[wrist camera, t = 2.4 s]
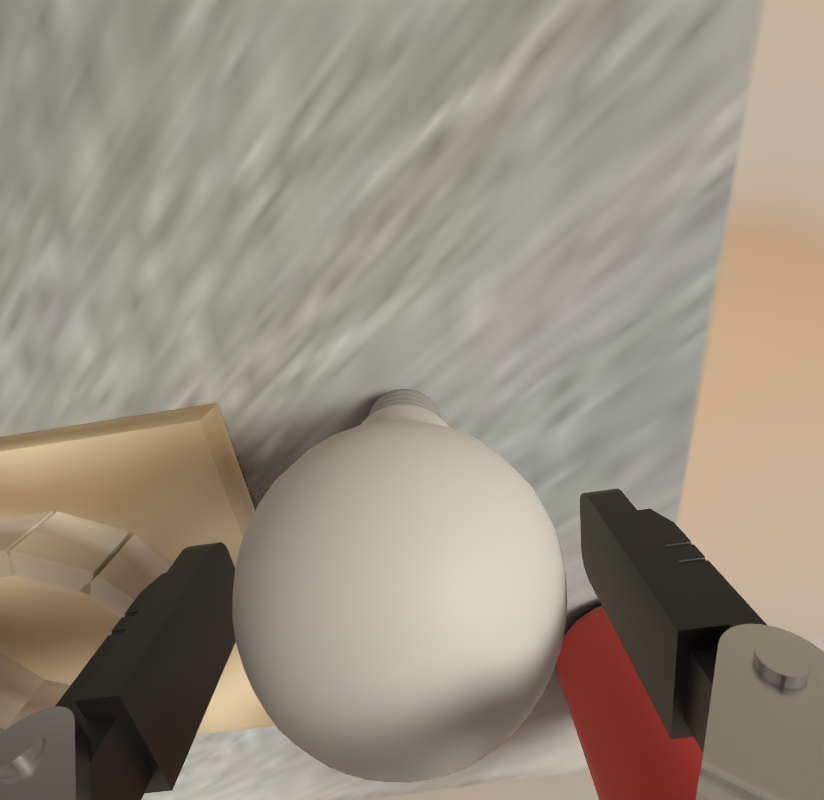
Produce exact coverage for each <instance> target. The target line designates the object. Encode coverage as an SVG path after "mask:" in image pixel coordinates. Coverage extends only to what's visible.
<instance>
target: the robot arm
mask: <svg viewBox="0 0 824 800" xmlns="http://www.w3.org/2000/svg"><path fill="white" fill-rule="evenodd" d="M580 518H581V549H582V558H583V563H584V567H585V570H586V574H587V576H588V579H589V581H590V583H591V585H592V587H593V589H594V591H595V593H596V595H597V597H598V599H599V601H600V603H601V605H602V606H603V608H604V610H605V612H606V614H607V616H608V618H609V620H610V622H611V624H612V626H613V628H614V630H615V632H616V634H617V636H618V638H619V640H620V642H621V643H622V645H623V647H624V649H625V651H626V653H627V655H628V657H629V659H630V661H631V663H632V665H633V667H634V669H635V671H636V673H637V675H638V677H639V678H640V680H641V682H642V684H643V686H644V688H645V690H646V692H647V694H648V696H649V698H650V700H651V702H652V704H653V706H654V708H655V710H656V712H657V714H658V715H659V717H660V719H661V721H662V723H663V725H664V727H665V729H666V731H667V733H668V735H669V737H670V739H679V738H688V737H694V738H695V740H696V742H697V743H698V745H699V747H700V749H701V751H702V752H703V759H702V766H701V771H700V774H699V781H698V787H697V794H696V800H824V652H823V651H822V650H821V649H819V648H818V647H817V646H815V645H814V644H812V643H811V642H809V641H807V640H805V639H804V638H802V637H800V636H797V635H795V634H793V633H791V632H788V631H786V630H783V629H780V628H777V627H772V626H768V625H767V624H766V623H765V622H764V621H763V620H762V619H761V618H760V617H759V616H758V615H757V614H756V612H755V611H754V610H753V609H752V608H751V607H750V606H749V605H748V604H747V603H746V601H745V600H744V599H743V598H742V597H741V596H740V595H739V594H738V593H737V592H736V590H734V588H733V587H732V586H731V585H730V584H729V583H728V582H727V581H726V579H725V578H724V577H723V576H722V575H721V574H720V573H719V572H718V571H717V570H716V568H715V567H714V566H713V565H712V564H711V563H710V562H709V561H706V560H705V557H704V555H703V554H702V553H701V552H700V551H699V550H698V549H697V548H696V547H695V545H692V544H691V542H690V540H689V539H688V538H687V537H686V535H685V534H684V533H683V532H682V531H681V530H680V529H679V528H678V527H677V526H676V524H675V523H674V522H672V521H670V520H668V519H667V518H665V517H663V516H662V515H660V514H658V513H656V512H655V511H653V510H651V509H645V510H636V508H635V507H634V506H633V505H632V503H631V502H630V501H629V500H628V499H627V497H626V496H625V495H624V494H623V492H622V491H621V490H619V489H611V490H604V491H596V492H589V493H582V495H581V497H580ZM234 575H235V567H234V564H233V562H232V559H231V556H230V554H229V551H228V549H227V547H226V545H225V544H223V543H221V542H218V543H211V544H203V545H196V546H189V547H186V548H185V549H183V550H182V552H181V553H180V554H179V556H178V557H177V558H176V560H175V561H174V563H173V564H172V565H171V567H170V568H169V570H168V571H167V572H166V573H163V574H161V575H160V576H159V577H158V578H157V579H155V580H154V581H153V582H152V583H151V584H150V585H148V586H147V587H146V588H145V589H144V590H142V591H141V592H140V594H139V595H138V596H137V598H136V599H135V600H134V602H133V603H132V604H131V606H130V607H129V608H128V610H127V611H126V612H125V617H122V618H121V619H120V620H119V622H118V623H117V624H116V625H115V627H114V628H113V629H112V634H111V635H108V636H107V637H106V639H105V640H104V641H103V643H102V644H101V645H100V647H99V648H98V649H97V651H96V652H95V653H94V655H93V656H92V657H91V659H90V660H89V661H88V663H87V664H86V665H85V667H84V668H83V669H82V671H81V672H80V673H79V675H78V676H77V677H76V679H75V680H74V681H73V683H72V684H71V685H70V687H69V688H68V689H67V691H66V692H65V693H64V695H63V696H62V697H61V699H60V700H59V701H58V703H57V704H56V705H55V707H49V708H46V709H43V710H40V711H37V712H35V713H32V714H31V715H29V716H27V717H25V718H23V719H21V720H20V721H18V722H16V723H15V724H13V725H12V726H10V727H9V728H8V729H6V730H5V731H4V732H2V733H1V734H0V800H141V799H142V797H143V795H144V793H151V792H161V791H170V790H173V787H174V785H175V783H176V780H177V778H178V776H179V773H180V771H181V769H182V766H183V764H184V762H185V759H186V757H187V755H188V752H189V750H190V747H191V745H192V743H193V740H194V738H195V736H196V733H197V731H198V729H199V726H200V724H201V722H202V719H203V717H204V715H205V712H206V710H207V708H208V705H209V703H210V701H211V698H212V696H213V694H214V691H215V689H216V687H217V684H218V682H219V680H220V677H221V675H222V673H223V670H224V668H225V666H226V663H227V661H228V659H229V656H230V654H231V652H232V649H233V647H234V645H235V642H236V639H235V633H234V627H233V621H232V595H233V585H234Z"/></svg>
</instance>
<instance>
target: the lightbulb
mask: <svg viewBox="0 0 824 800" xmlns="http://www.w3.org/2000/svg"><path fill="white" fill-rule="evenodd" d="M566 611H567V591H566V574H565V568H564V563H563V557H562V551H561V548H560V545H559V542H558V539H557V536H556V533H555V529H554V526H553V524H552V522H551V520H550V518H549V516H548V514H547V512H546V510H545V508H544V506H543V505H542V503H541V501H540V500H539V498H538V497H537V495H536V493H535V492H534V490H533V488H532V487H531V485H530V484H529V483H528V482H527V481H526V480H525V479H524V478H523V477H522V476H521V475H520V474H519V473H518V472H517V471H516V470H515V469H514V468H513V467H512V466H511V465H510V464H509V463H508V462H507V461H506V460H505V459H504V458H503V457H502V456H501V455H500V454H499V453H497V452H496V451H494V450H493V449H491V448H490V447H488V446H487V445H485V444H484V443H482V442H481V441H479V440H478V439H476V438H474V437H472V436H469V435H467V434H465V433H462V432H460V431H457V430H455V429H452V428H450V427H448V426H447V424H446V423H445V422H444V421H443V420H442V418H441V416H440V413H439V411H438V409H437V407H436V406H435V404H434V403H433V402H432V401H431V400H430V399H429V398H428V397H427V396H425V395H424V394H422V393H420V392H417V391H414V390H409V389H400V390H394V391H391V392H388V393H386V394H385V395H383V396H381V397H380V398H379V399H378V400H377V401H376V402H375V404H374V405H373V406H372V409H371V411H370V413H369V415H368V417H367V419H365V420H364V421H363V422H362V424H361V425H359V426H356V427H354V428H351V429H348V430H345V431H342V432H340V433H337V434H334V435H332V436H330V437H329V438H327V439H325V440H324V441H322V442H320V443H319V444H317V445H315V446H314V447H312V448H310V449H309V450H308V451H307V452H306V453H304V454H303V455H302V456H301V457H300V458H299V459H298V460H297V461H295V462H294V463H293V464H292V465H291V466H290V467H289V468H288V469H287V470H286V471H285V472H284V473H282V474H281V475H280V476H279V477H278V478H277V479H276V480H275V481H274V482H273V484H272V485H271V487H270V488H269V490H268V491H267V493H266V494H265V495H264V497H263V498H262V500H261V501H260V503H259V504H258V506H257V508H256V510H255V512H254V514H253V516H252V518H251V519H250V521H249V524H248V527H247V529H246V532H245V535H244V537H243V540H242V543H241V545H240V549H239V554H238V558H237V563H236V568H235V575H234V585H233V595H232V621H233V627H234V633H235V639H236V645H237V648H238V652H239V655H240V658H241V661H242V664H243V668H244V671H245V673H246V675H247V678H248V680H249V682H250V684H251V687H252V689H253V691H254V693H255V695H256V696H257V698H258V700H259V701H260V703H261V705H262V706H263V708H264V710H265V711H266V713H267V715H268V716H269V717H270V719H271V720H272V721H273V722H274V724H275V725H276V726H277V728H278V729H279V730H280V731H281V732H282V733H283V734H284V735H285V736H286V737H288V738H289V739H290V740H291V741H292V742H293V743H294V744H296V745H297V746H298V747H300V748H301V749H303V750H304V751H305V752H307V753H308V754H309V755H311V756H312V757H314V758H315V759H317V760H319V761H320V762H322V763H324V764H325V765H327V766H329V767H331V768H333V769H336V770H338V771H340V772H343V773H345V774H348V775H352V776H356V777H360V778H363V779H368V780H376V781H384V782H412V781H421V780H428V779H432V778H437V777H441V776H445V775H448V774H451V773H453V772H456V771H458V770H461V769H463V768H466V767H467V766H469V765H471V764H473V763H474V762H476V761H478V760H480V759H481V758H483V757H484V756H486V755H487V754H488V753H490V752H491V751H493V750H494V749H496V748H497V747H499V746H500V745H501V744H502V743H503V742H505V741H506V740H507V739H508V738H509V737H511V736H512V735H513V734H514V733H515V732H516V731H517V730H518V729H519V727H520V726H521V725H522V724H523V722H524V721H525V720H526V719H527V718H528V716H529V715H530V713H531V711H532V710H533V708H534V707H535V705H536V704H537V702H538V700H539V699H540V697H541V696H542V694H543V692H544V690H545V688H546V686H547V684H548V682H549V680H550V678H551V676H552V673H553V670H554V668H555V665H556V662H557V659H558V656H559V653H560V651H561V647H562V642H563V637H564V632H565V628H566Z"/></svg>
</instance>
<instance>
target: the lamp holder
mask: <svg viewBox="0 0 824 800" xmlns="http://www.w3.org/2000/svg"><path fill="white" fill-rule="evenodd" d="M254 512H255V509H254V506H253V503H252V500H251V497H250V494H249V492H248V489H247V486H246V483H245V480H244V477H243V475H242V472H241V469H240V466H239V463H238V460H237V458H236V455H235V452H234V449H233V446H232V443H231V440H230V438H229V435H228V432H227V429H226V426H225V423H224V421H223V418H222V415H221V412H220V409H219V406H218V404H217V403H216V404H209V405H203V406H197V407H190V408H184V409H178V410H171V411H165V412H159V413H152V414H146V415H140V416H133V417H127V418H121V419H114V420H108V421H102V422H95V423H89V424H82V425H76V426H70V427H63V428H57V429H51V430H44V431H38V432H32V433H25V434H19V435H13V436H6V437H0V734H1V733H2V732H4V731H5V730H6V729H8V728H9V727H10V726H12V725H13V724H15V723H16V722H18V721H20V720H21V719H23V718H25V717H27V716H29V715H31V714H32V713H35V712H37V711H40V710H43V709H46V708H49V707H55V705H56V704H57V703H58V701H59V700H60V699H61V697H62V696H63V695H64V693H65V692H66V691H67V689H68V688H69V687H70V685H71V684H72V683H73V681H74V680H75V679H76V677H77V676H78V675H79V673H80V672H81V671H82V669H83V668H84V667H85V665H86V664H87V663H88V661H89V660H90V659H91V657H92V656H93V655H94V653H95V652H96V651H97V649H98V648H99V647H100V645H101V644H102V643H103V641H104V640H105V639H106V637H107V636H108V635H111V634H112V629H113V628H114V627H115V625H116V624H117V623H118V622H119V620H120V619H121V618H122V617H125V612H126V611H127V610H128V608H129V607H130V606H131V604H132V603H133V602H134V600H135V599H136V598H137V596H138V595H139V594H140V592H141V591H142V590H144V589H145V588H146V587H147V586H148V585H150V584H151V583H152V582H153V581H154V580H155V579H157V578H158V577H159V576H160V575H161V574H163V573H166V572H167V571H168V570H169V568H170V567H171V565H172V564H173V563H174V561H175V560H176V558H177V557H178V556H179V554H180V553H181V552H182V550H183V549H185V548H186V547H189V546H196V545H203V544H211V543H218V542H221V543H223V544H225V545H226V547H227V549H228V551H229V554H230V556H231V559H232V562H233V564H234V567H235V568H236V563H237V558H238V554H239V549H240V545H241V543H242V540H243V537H244V535H245V532H246V529H247V527H248V524H249V521H250V519H251V518H252V516H253V514H254ZM270 726H276V725H275V724H274V722H273V721H272V720H271V719H270V717H269V716H268V715H267V713H266V711H265V710H264V708H263V706H262V705H261V703H260V701H259V700H258V698H257V696H256V695H255V693H254V691H253V689H252V687H251V684H250V682H249V680H248V678H247V675H246V673H245V671H244V668H243V664H242V661H241V658H240V655H239V652H238V648H237V645H236V642H235V645H234V647H233V649H232V652H231V654H230V656H229V659H228V661H227V663H226V666H225V668H224V670H223V673H222V675H221V677H220V680H219V682H218V684H217V687H216V689H215V691H214V694H213V696H212V698H211V701H210V703H209V705H208V708H207V710H206V712H205V715H204V717H203V719H202V722H201V724H200V726H199V729H198V731H197V733H196V735H202V734H210V733H219V732H227V731H236V730H244V729H253V728H262V727H270Z"/></svg>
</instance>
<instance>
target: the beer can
mask: <svg viewBox="0 0 824 800" xmlns="http://www.w3.org/2000/svg"><path fill="white" fill-rule="evenodd" d="M557 672H558V676H559V679H560V682H561V685H562V688H563V691H564V694H565V697H566V700H567V703H568V706H569V709H570V713H571V716H572V719H573V722H574V725H575V728H576V731H577V734H578V737H579V740H580V743H581V746H582V749H583V752H584V755H585V758H586V761H587V764H588V767H589V770H590V773H591V776H592V779H593V782H594V785H595V788H596V791H597V794H598V797H599V800H696V794H697V787H698V781H699V774H700V771H701V766H702V759H703V752H702V751H701V749H700V747H699V745H698V743H697V742H696V740H695V738H694V737H688V738H679V739H670V737H669V735H668V733H667V731H666V729H665V727H664V725H663V723H662V721H661V719H660V717H659V715H658V714H657V712H656V710H655V708H654V706H653V704H652V702H651V700H650V698H649V696H648V694H647V692H646V690H645V688H644V686H643V684H642V682H641V680H640V678H639V677H638V675H637V673H636V671H635V669H634V667H633V665H632V663H631V661H630V659H629V657H628V655H627V653H626V651H625V649H624V647H623V645H622V643H621V642H620V640H619V638H618V636H617V634H616V632H615V630H614V628H613V626H612V624H611V622H610V620H609V618H608V616H607V614H606V612H605V610H604V608H603V606H599V607H596V608H594V609H593V610H591V611H590V612H588V613H587V614H585V615H584V616H582V617H581V618H579V619H578V620H577V621H576V622H575V623H574V624H573V625H572V627H571V628H570V629H569V630H568V631H567V632H566V634H565V635H564V637H563V642H562V647H561V651H560V653H559V656H558V659H557Z"/></svg>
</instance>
